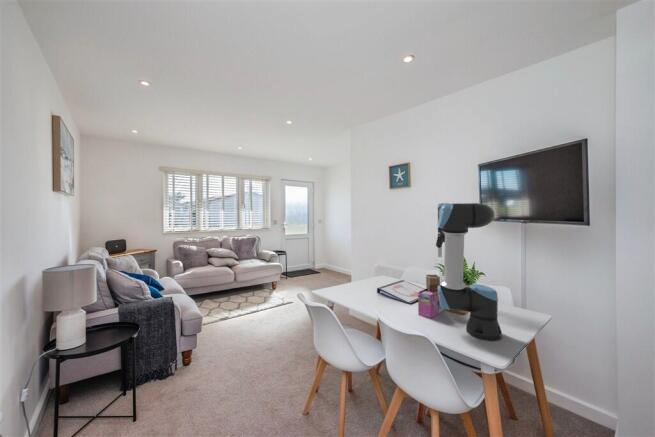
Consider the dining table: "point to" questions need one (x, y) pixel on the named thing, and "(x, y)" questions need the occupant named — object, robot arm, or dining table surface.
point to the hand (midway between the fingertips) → (443, 259)
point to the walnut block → (432, 282)
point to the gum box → (428, 303)
